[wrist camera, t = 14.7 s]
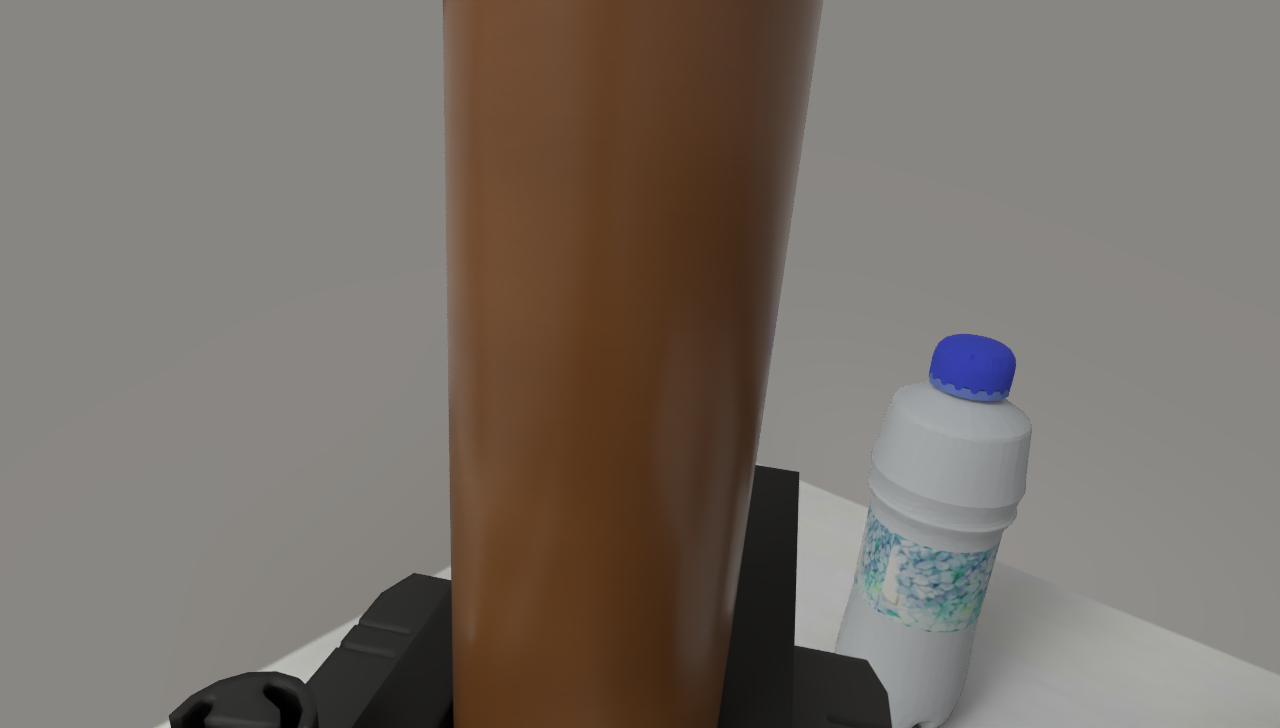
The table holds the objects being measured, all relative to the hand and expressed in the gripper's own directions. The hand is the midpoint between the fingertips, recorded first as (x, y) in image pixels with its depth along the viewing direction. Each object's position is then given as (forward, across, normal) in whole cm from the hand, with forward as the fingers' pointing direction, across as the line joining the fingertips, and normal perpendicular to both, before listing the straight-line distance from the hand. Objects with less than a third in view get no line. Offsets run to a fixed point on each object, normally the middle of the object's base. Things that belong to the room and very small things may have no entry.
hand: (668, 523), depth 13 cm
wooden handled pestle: (-5, 0, -11) cm, 12 cm away
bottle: (+23, +10, -23) cm, 34 cm away
